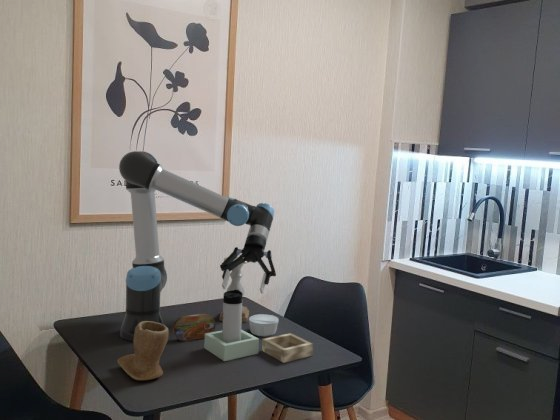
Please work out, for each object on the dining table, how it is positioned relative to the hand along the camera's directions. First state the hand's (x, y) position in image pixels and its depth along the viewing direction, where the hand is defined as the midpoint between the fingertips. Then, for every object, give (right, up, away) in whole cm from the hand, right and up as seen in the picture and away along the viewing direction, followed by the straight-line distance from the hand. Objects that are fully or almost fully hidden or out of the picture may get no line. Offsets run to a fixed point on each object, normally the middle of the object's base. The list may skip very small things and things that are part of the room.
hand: (242, 289), depth 177 cm
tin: (-17, -18, +5) cm, 26 cm away
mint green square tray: (-3, -19, -6) cm, 21 cm away
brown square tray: (+15, -20, -6) cm, 26 cm away
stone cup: (-27, -21, -26) cm, 43 cm away
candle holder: (-5, -16, +30) cm, 34 cm away
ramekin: (+7, -18, +14) cm, 24 cm away
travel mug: (-3, -20, -6) cm, 21 cm away
